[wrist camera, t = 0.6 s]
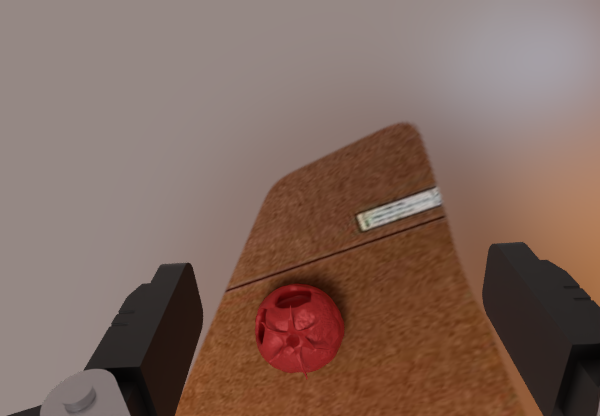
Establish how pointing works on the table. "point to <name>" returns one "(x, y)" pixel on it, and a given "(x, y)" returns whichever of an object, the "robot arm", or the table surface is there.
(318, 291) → the pomegranate
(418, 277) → the table surface
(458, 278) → the table surface
